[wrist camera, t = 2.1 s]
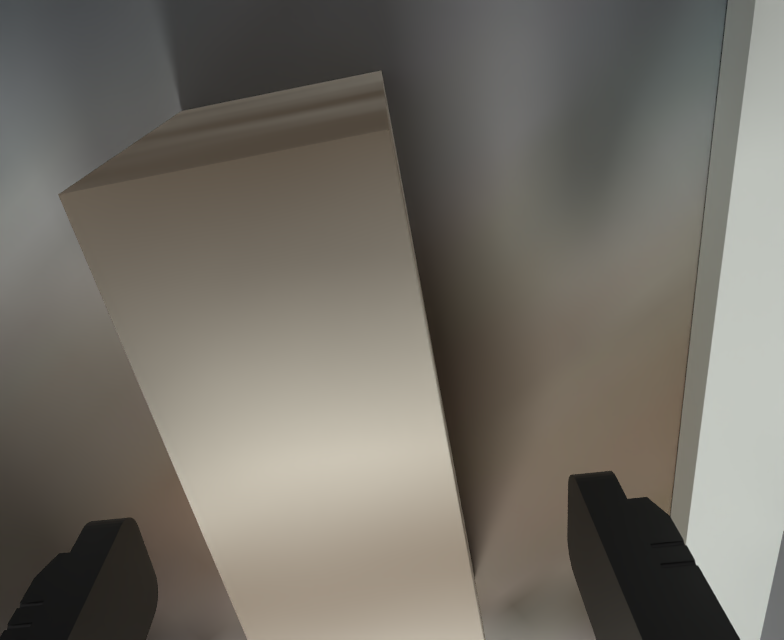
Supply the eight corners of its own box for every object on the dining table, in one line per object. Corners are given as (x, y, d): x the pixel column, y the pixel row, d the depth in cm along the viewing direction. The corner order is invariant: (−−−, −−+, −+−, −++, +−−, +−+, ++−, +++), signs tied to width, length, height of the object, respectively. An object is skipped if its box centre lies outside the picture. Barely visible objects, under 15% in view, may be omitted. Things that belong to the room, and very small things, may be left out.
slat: (183, 109, 13) (58, 194, 8) (381, 69, 13) (389, 129, 8) (338, 595, 20) (327, 826, 14) (473, 573, 19) (513, 800, 14)
